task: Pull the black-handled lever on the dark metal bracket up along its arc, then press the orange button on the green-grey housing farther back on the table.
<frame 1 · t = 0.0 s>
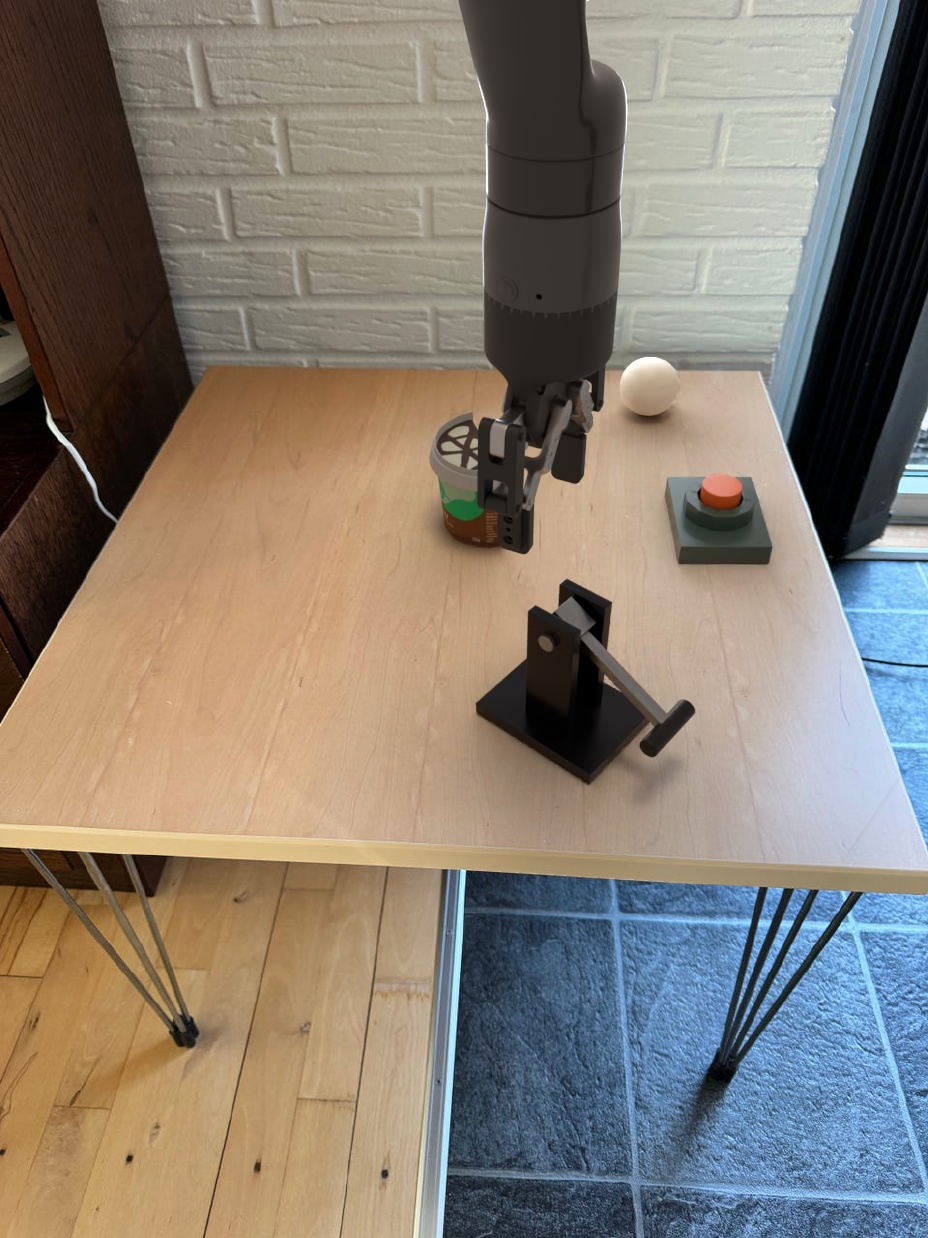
hand: (542, 511, 65), 24 cm above the table, tool pointing down, fingers open, 8 cm apart
button: (721, 492, 98), point 4 cm above the table, slide at 0.1 cm
bracket: (562, 716, 83), on the table
button box: (714, 526, 101), on the table
cream ball: (647, 411, 118), on the table
food container: (463, 526, 103), on the table
lever: (615, 672, 75), point 9 cm above the table, hinge at -28.0°
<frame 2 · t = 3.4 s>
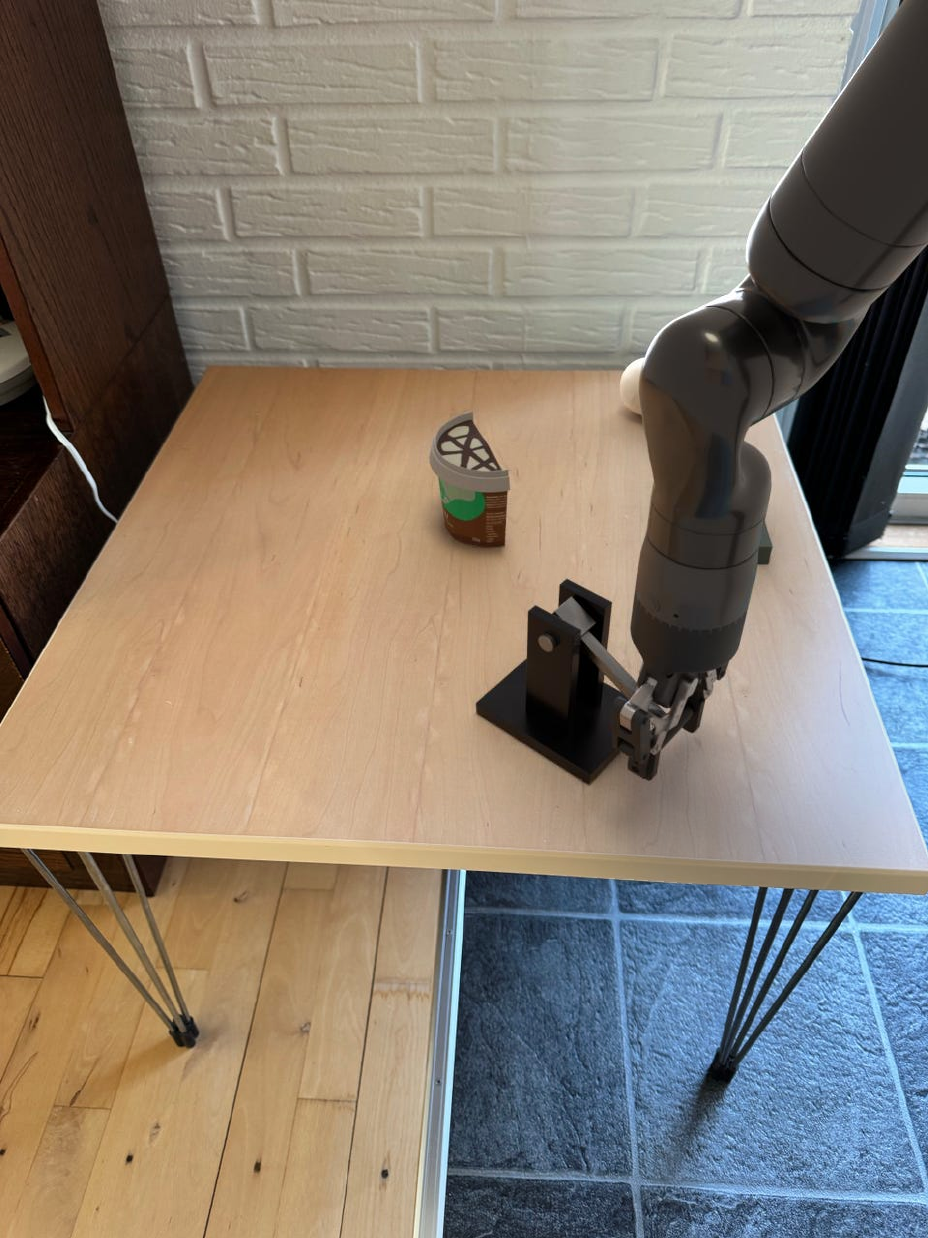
hand: (663, 748, 76), 3 cm above the table, tool pointing down, fingers closed on lever, 5 cm apart
lever: (615, 672, 75), point 9 cm above the table, hinge at -28.1°, touching gripper
everything else where it was.
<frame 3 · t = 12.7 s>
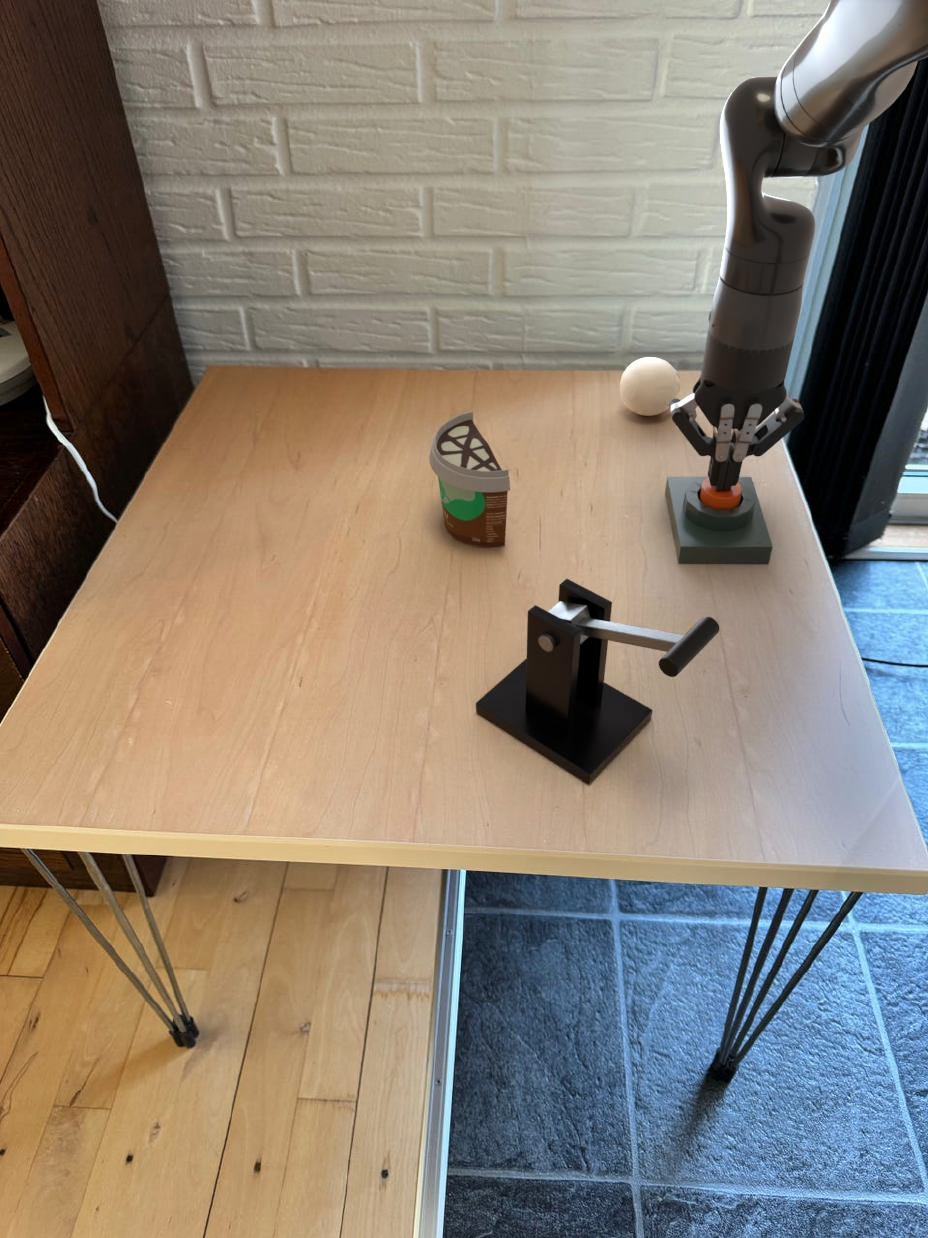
hand: (721, 486, 98), 5 cm above the table, tool pointing down, fingers closed
button: (720, 493, 98), point 4 cm above the table, slide at -0.1 cm, touching gripper
lever: (622, 633, 71), point 13 cm above the table, hinge at 21.5°
everything else where it was.
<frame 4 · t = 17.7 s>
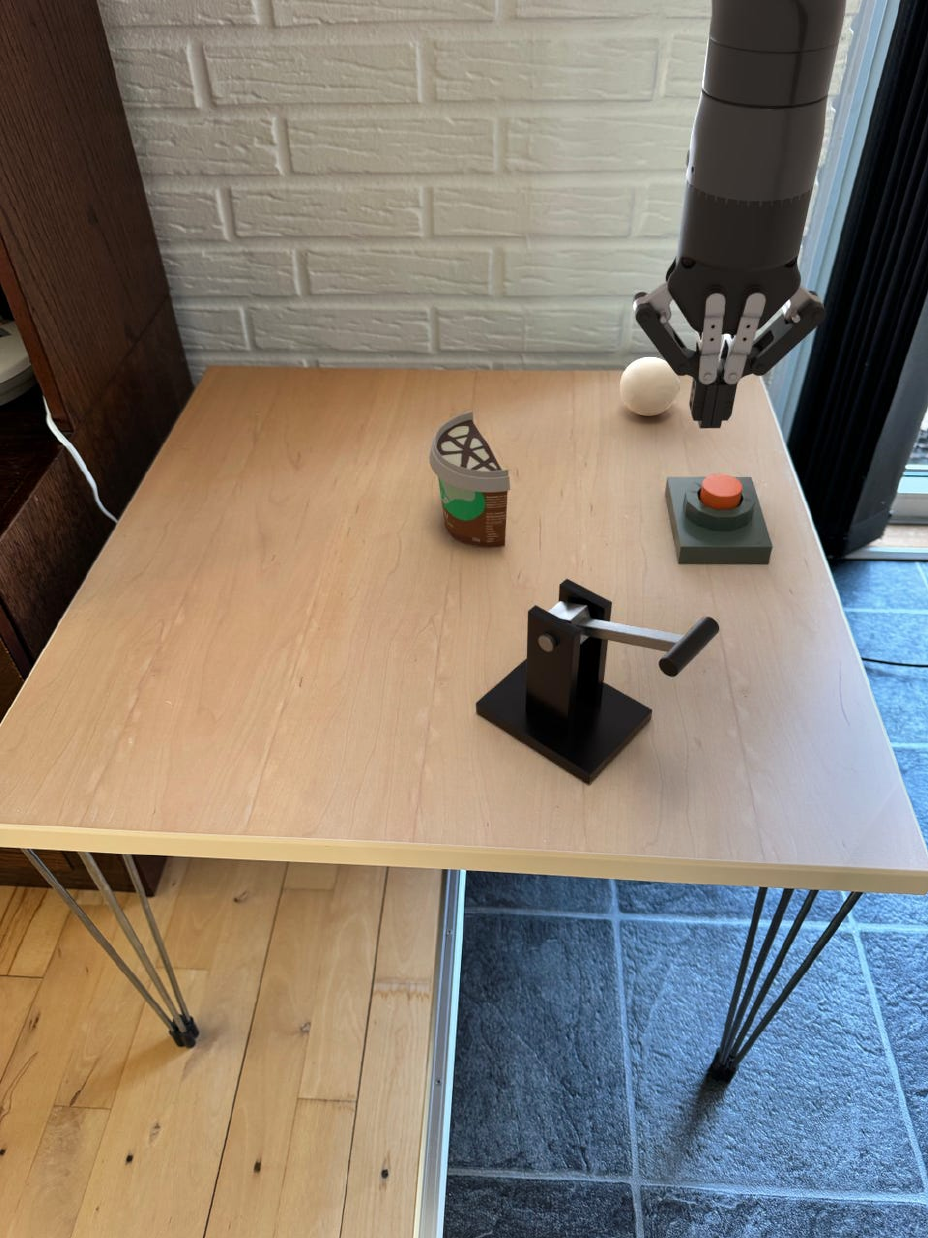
hand: (708, 422, 70), 25 cm above the table, tool pointing down, fingers closed
button: (721, 492, 98), point 4 cm above the table, slide at 0.1 cm
everything else where it was.
at the end: lever at +22° (first picture: -28°); button pushed in 1.0 cm at the most during the clip, back to where it started at the end; button slide at 0.1 cm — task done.
